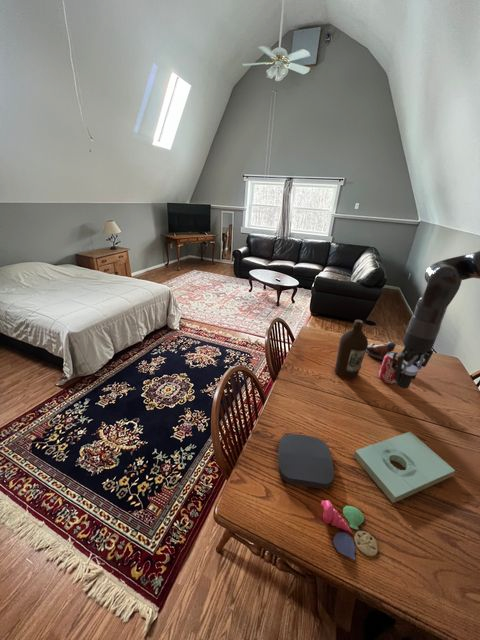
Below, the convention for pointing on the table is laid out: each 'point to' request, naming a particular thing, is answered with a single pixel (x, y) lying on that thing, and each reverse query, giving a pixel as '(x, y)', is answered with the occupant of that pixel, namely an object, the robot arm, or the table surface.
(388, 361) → the soda can
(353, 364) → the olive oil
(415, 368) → the stopper
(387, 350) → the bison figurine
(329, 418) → the table surface
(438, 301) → the robot arm
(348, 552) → the toy pieces
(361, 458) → the plate
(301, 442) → the media streaming box
